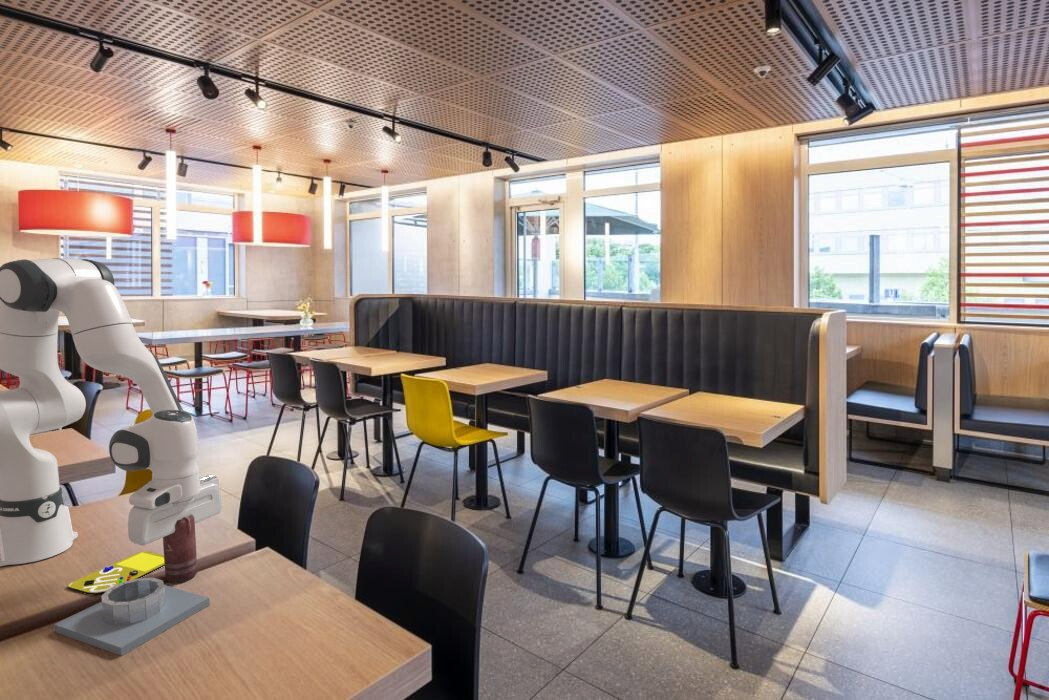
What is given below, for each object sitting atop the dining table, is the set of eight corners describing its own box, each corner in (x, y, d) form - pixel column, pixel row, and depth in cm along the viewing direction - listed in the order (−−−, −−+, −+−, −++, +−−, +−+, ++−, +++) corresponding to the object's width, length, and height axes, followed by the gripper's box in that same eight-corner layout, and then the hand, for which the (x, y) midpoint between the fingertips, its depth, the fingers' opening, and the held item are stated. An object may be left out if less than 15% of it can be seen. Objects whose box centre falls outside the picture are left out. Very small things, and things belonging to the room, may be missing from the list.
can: (184, 585, 131) (181, 522, 129) (158, 581, 132) (154, 519, 130) (204, 571, 137) (201, 511, 135) (179, 568, 138) (176, 508, 136)
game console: (142, 554, 146) (141, 548, 145) (178, 562, 142) (177, 556, 142) (64, 591, 129) (63, 584, 129) (102, 601, 125) (102, 594, 125)
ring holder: (90, 618, 115) (89, 597, 115) (141, 592, 124) (140, 574, 124) (127, 630, 112) (126, 609, 111) (176, 603, 121) (175, 584, 120)
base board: (54, 631, 113) (54, 624, 113) (146, 586, 130) (146, 579, 130) (121, 655, 107) (121, 647, 106) (209, 604, 123) (209, 597, 123)
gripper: (207, 470, 142) (210, 527, 144) (120, 499, 124) (125, 565, 125) (227, 473, 140) (230, 532, 142) (142, 504, 121) (147, 571, 123)
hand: (180, 547), depth 133 cm, fingers closed
